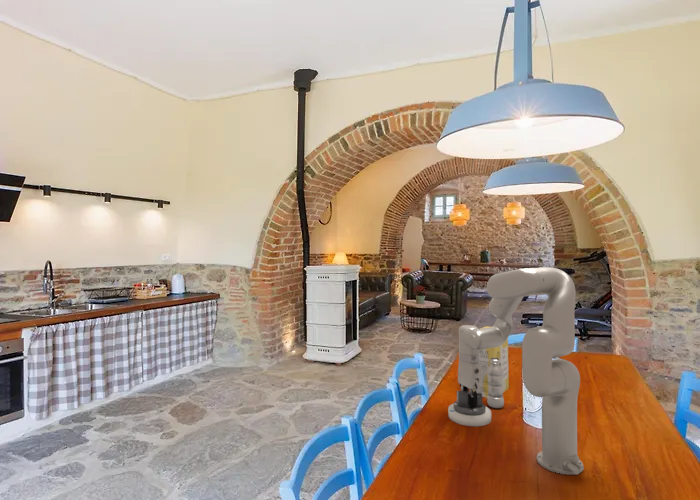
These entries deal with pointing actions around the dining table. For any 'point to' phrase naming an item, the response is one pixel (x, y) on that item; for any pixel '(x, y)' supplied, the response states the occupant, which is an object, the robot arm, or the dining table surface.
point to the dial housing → (469, 417)
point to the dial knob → (463, 404)
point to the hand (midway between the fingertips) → (469, 403)
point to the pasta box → (484, 362)
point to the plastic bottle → (495, 384)
